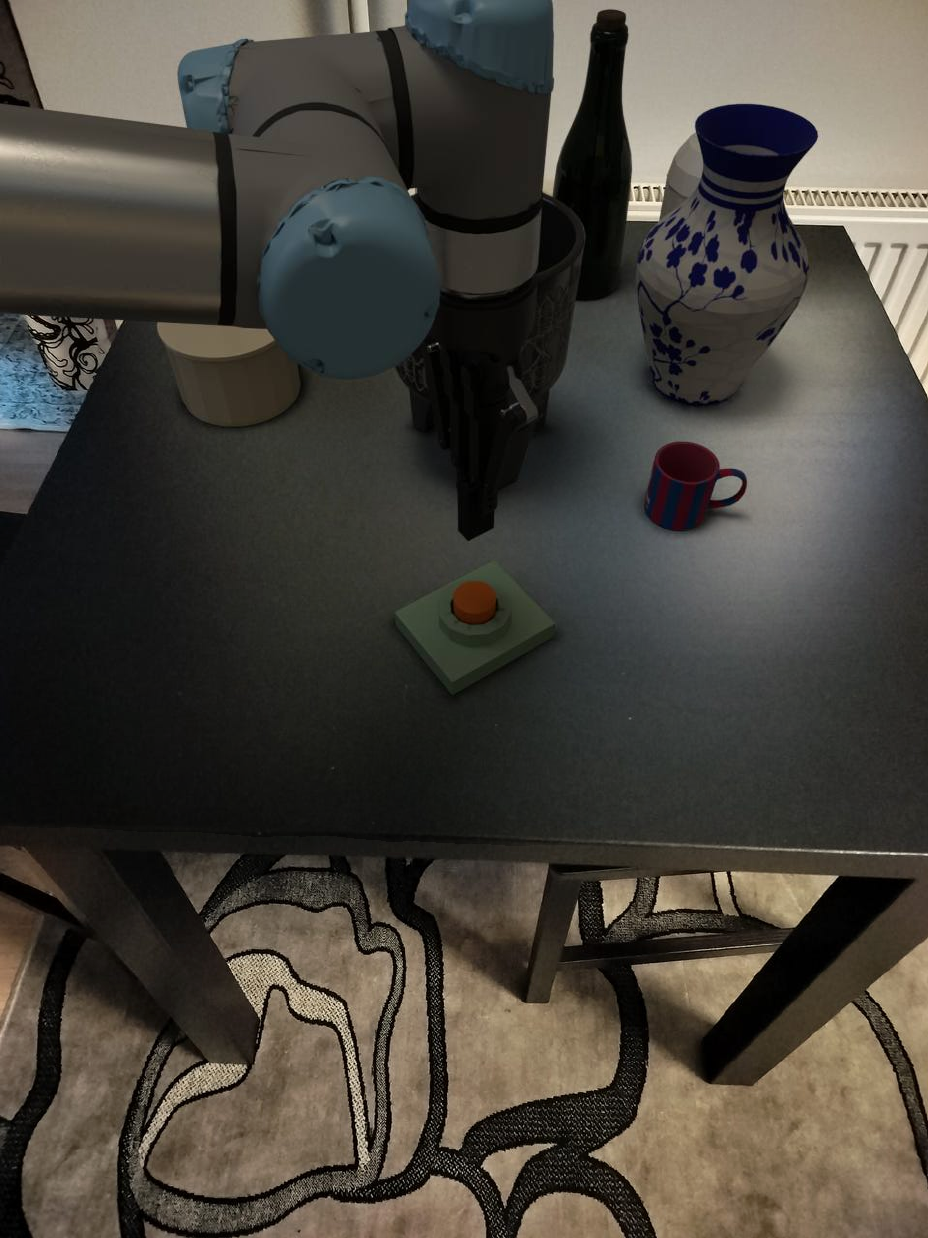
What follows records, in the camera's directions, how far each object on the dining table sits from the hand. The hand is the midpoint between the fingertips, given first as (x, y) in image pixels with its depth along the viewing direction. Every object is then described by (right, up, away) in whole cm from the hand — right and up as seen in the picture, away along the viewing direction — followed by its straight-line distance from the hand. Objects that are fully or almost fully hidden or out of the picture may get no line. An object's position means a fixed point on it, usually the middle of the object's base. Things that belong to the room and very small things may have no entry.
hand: (475, 529), depth 73 cm
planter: (+1, +12, +28) cm, 31 cm away
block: (0, -9, +11) cm, 14 cm away
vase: (+28, +23, +36) cm, 51 cm away
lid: (-29, +27, +27) cm, 48 cm away
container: (+33, +42, +52) cm, 74 cm away
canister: (-29, +21, +35) cm, 50 cm away
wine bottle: (+16, +41, +50) cm, 67 cm away
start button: (0, -7, +8) cm, 11 cm away
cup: (+24, +4, +22) cm, 32 cm away
